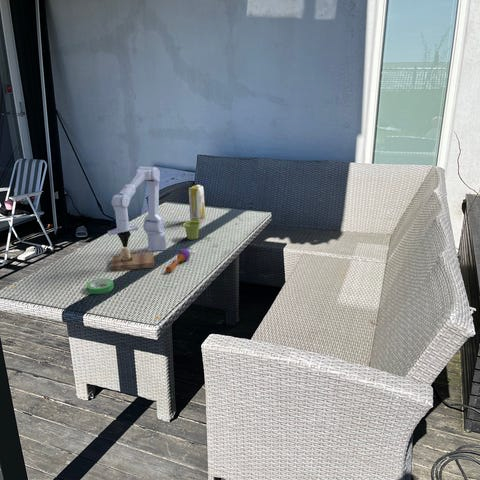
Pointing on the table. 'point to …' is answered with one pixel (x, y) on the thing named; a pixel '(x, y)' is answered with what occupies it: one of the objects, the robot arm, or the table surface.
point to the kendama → (179, 259)
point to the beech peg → (125, 254)
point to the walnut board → (133, 262)
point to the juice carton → (197, 203)
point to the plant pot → (192, 229)
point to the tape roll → (100, 290)
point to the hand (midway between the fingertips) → (125, 246)
